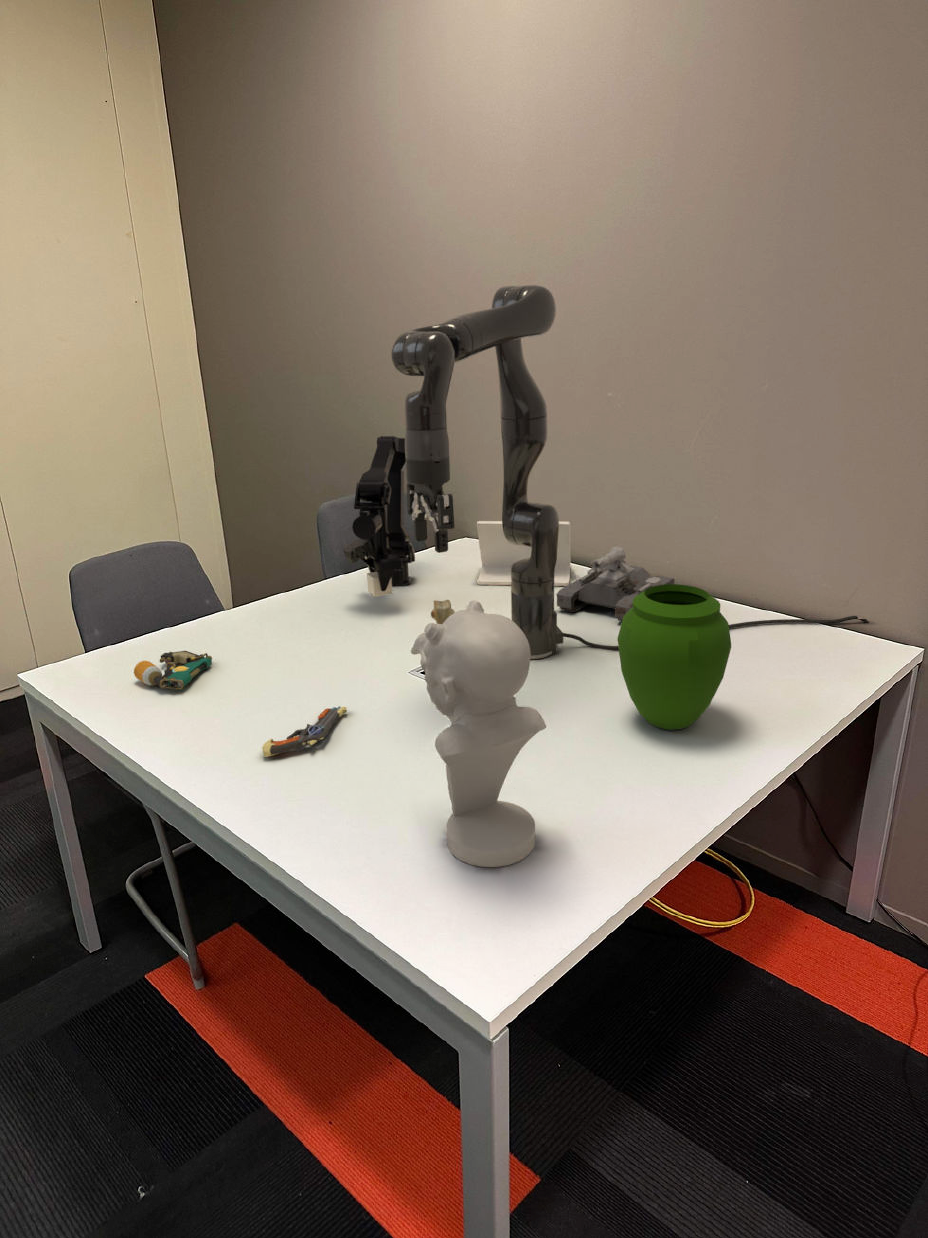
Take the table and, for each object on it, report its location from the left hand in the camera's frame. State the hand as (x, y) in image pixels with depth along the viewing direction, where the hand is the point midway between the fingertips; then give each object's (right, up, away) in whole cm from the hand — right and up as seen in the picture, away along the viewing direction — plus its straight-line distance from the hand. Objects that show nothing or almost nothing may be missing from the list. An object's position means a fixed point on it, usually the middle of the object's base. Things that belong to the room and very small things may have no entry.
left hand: (380, 587), depth 217 cm
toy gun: (-7, -29, -62) cm, 69 cm away
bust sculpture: (+22, -39, -92) cm, 102 cm away
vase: (+59, -27, -61) cm, 89 cm away
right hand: (+16, +5, -65) cm, 67 cm away
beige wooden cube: (0, -1, 0) cm, 1 cm away
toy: (+60, -4, -3) cm, 60 cm away
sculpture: (+17, -19, -37) cm, 45 cm away
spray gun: (-39, -20, -36) cm, 57 cm away
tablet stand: (+38, +4, +22) cm, 45 cm away
